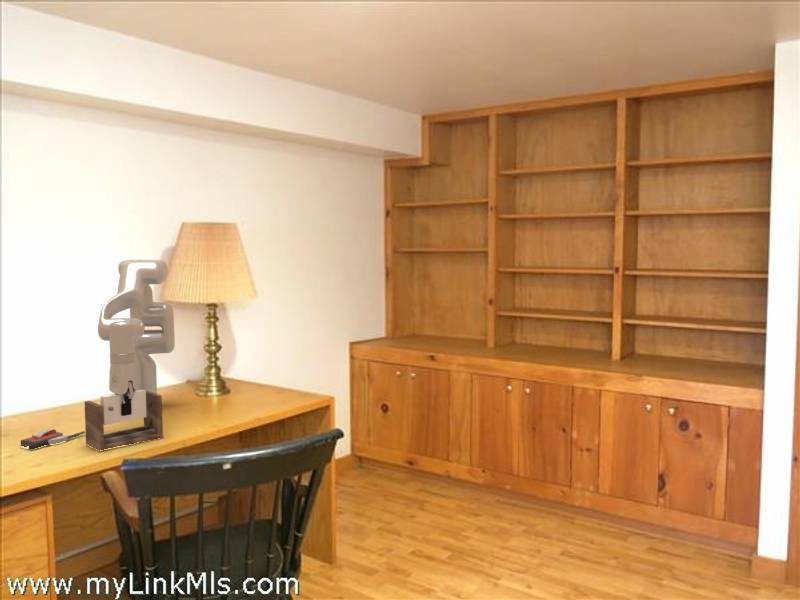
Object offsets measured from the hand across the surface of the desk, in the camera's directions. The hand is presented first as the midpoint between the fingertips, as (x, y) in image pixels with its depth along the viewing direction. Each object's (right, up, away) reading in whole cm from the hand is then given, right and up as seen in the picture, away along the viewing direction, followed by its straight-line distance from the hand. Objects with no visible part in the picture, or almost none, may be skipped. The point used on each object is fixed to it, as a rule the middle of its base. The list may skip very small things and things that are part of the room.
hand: (124, 413), depth 219 cm
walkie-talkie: (-24, -10, +1) cm, 26 cm away
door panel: (0, -2, 0) cm, 2 cm away
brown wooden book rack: (0, -9, +1) cm, 9 cm away
